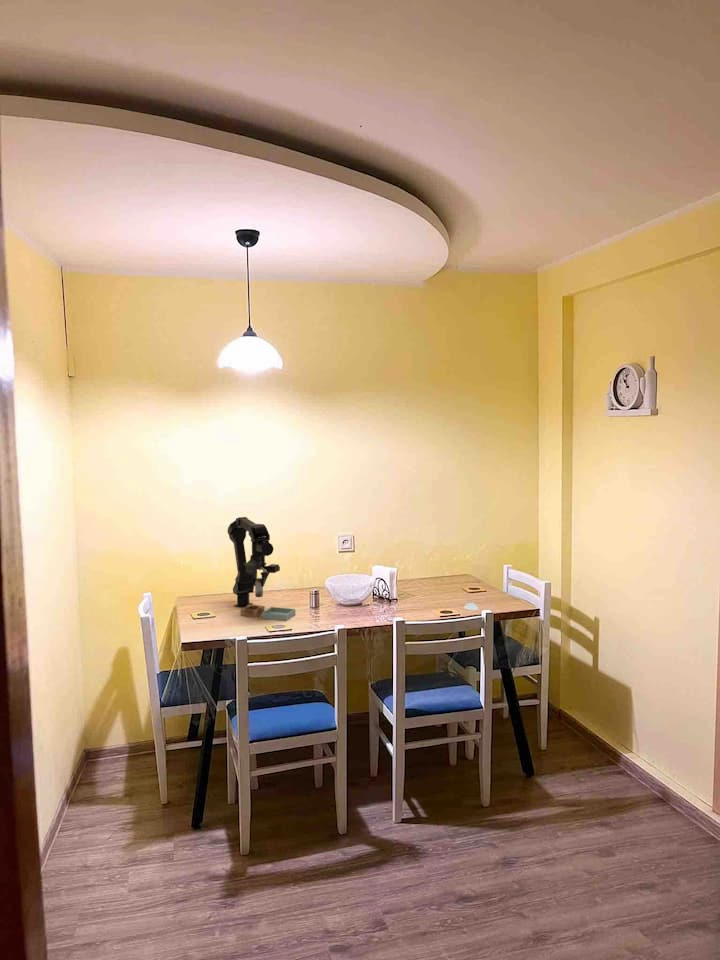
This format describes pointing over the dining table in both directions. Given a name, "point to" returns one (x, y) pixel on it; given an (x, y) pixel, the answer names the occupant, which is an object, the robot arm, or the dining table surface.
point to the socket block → (252, 610)
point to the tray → (278, 613)
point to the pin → (258, 587)
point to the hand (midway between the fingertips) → (259, 586)
